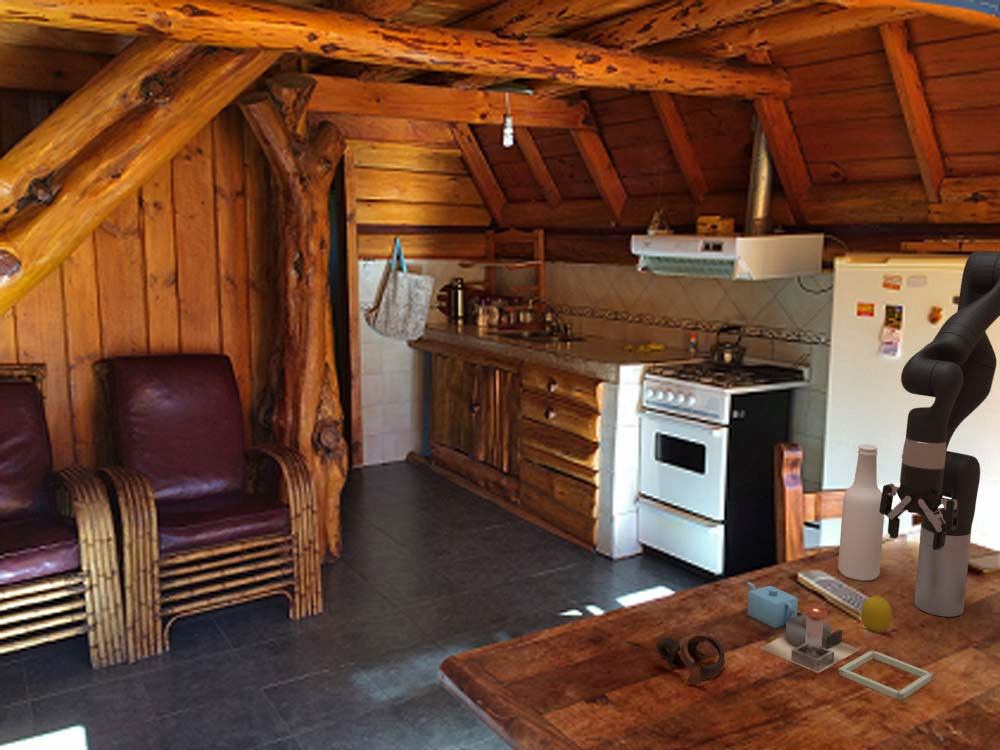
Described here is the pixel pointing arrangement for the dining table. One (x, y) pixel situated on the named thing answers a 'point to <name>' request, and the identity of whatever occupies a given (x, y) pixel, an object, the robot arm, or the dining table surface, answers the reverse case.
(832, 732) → the dining table surface
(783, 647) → the pulley board
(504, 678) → the dining table surface
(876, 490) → the alcohol
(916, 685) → the tray
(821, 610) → the pin
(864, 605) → the lemon
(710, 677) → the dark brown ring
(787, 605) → the teapot
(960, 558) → the robot arm
